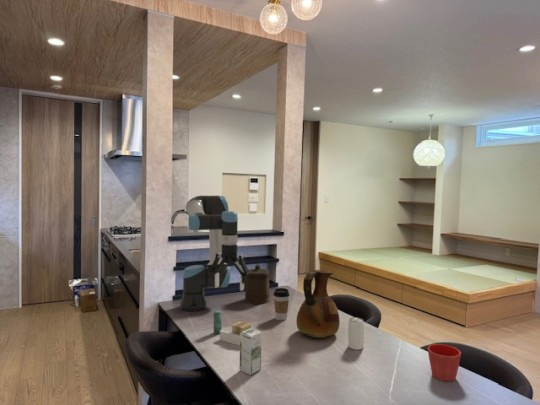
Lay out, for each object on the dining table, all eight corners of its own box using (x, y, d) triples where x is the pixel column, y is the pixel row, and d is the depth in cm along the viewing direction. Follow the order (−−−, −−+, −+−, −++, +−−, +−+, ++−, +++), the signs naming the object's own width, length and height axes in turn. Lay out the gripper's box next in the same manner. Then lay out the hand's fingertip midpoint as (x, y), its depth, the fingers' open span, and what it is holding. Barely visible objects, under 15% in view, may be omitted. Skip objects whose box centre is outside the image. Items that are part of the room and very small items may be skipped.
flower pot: (421, 369, 136) (422, 344, 135) (449, 368, 137) (450, 343, 136) (436, 384, 125) (437, 356, 125) (467, 383, 126) (467, 355, 126)
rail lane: (219, 339, 162) (219, 330, 162) (234, 332, 170) (234, 323, 170) (244, 347, 154) (244, 337, 154) (258, 339, 163) (258, 330, 163)
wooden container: (265, 296, 231) (265, 261, 231) (272, 302, 217) (272, 266, 216) (242, 298, 227) (242, 262, 226) (248, 305, 212) (248, 267, 212)
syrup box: (249, 365, 138) (249, 327, 138) (261, 370, 134) (261, 331, 134) (239, 370, 134) (239, 331, 133) (251, 376, 130) (251, 336, 129)
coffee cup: (289, 316, 194) (289, 288, 193) (288, 321, 185) (289, 292, 185) (274, 315, 195) (274, 287, 194) (272, 320, 186) (272, 291, 186)
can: (364, 345, 157) (364, 317, 157) (363, 351, 151) (363, 322, 151) (349, 343, 159) (349, 316, 159) (347, 349, 153) (347, 320, 153)
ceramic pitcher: (347, 333, 170) (348, 270, 169) (322, 346, 155) (323, 277, 155) (313, 323, 184) (314, 264, 183) (287, 334, 169) (288, 270, 168)
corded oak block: (210, 334, 168) (210, 312, 168) (218, 330, 173) (219, 309, 173) (242, 343, 157) (242, 321, 157) (250, 339, 162) (250, 317, 162)
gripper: (202, 243, 173) (202, 287, 174) (249, 246, 164) (249, 293, 164) (211, 241, 180) (211, 283, 181) (256, 244, 170) (256, 289, 171)
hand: (229, 288), depth 172 cm, fingers open, 13 cm apart
